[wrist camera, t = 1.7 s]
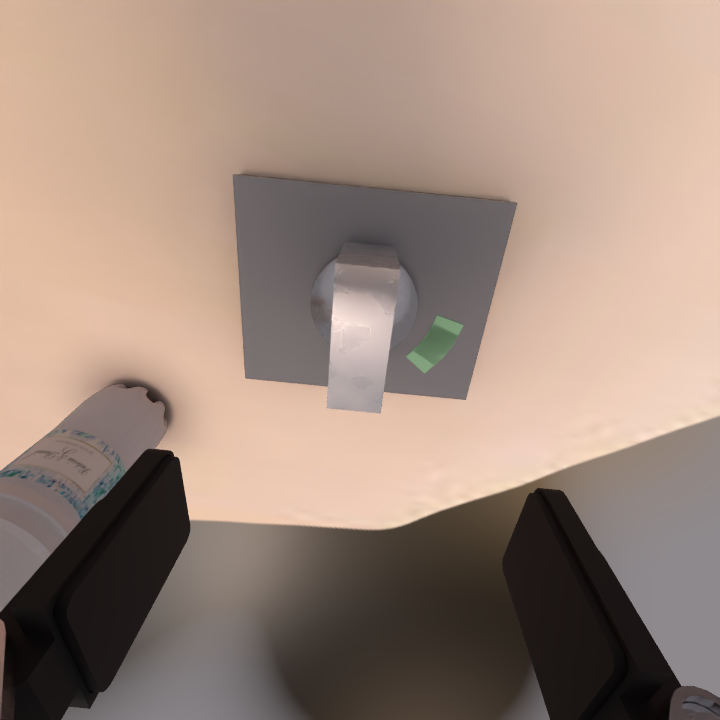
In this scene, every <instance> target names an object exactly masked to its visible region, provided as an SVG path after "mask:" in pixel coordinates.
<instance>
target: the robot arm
mask: <svg viewBox="0 0 720 720" xmlns="http://www.w3.org/2000/svg"><path fill="white" fill-rule="evenodd" d="M189 533H190V521H189V515H188V509H187V503H186V497H185V491H184V485H183V479H182V472H181V466H180V461H179V458H178V457H174V454H173V452H172V451H169V450H159V449H147V450H145V451H144V452H143V453H142V454H141V456H140V457H139V458H138V459H137V460H136V461H135V462H134V464H133V465H132V466H131V467H130V468H129V469H128V471H127V472H126V473H125V474H124V475H123V476H122V477H121V479H120V480H119V481H118V482H117V483H116V484H115V486H114V487H113V488H112V489H111V490H110V491H109V492H108V494H107V495H106V496H105V497H104V498H103V499H101V500H99V501H98V502H97V503H96V504H95V505H94V506H93V507H92V508H91V509H90V510H89V512H88V513H87V514H86V515H85V516H84V517H83V518H82V519H81V521H80V522H79V523H78V524H77V525H76V526H75V527H74V529H73V530H72V531H71V532H70V533H69V534H68V535H67V537H66V538H65V539H64V540H63V541H62V542H61V543H60V545H59V546H58V547H57V548H56V549H55V550H54V551H53V553H52V554H51V555H50V556H49V557H48V558H47V559H46V561H45V562H44V563H43V564H42V565H41V566H40V567H39V569H38V570H37V571H36V572H35V573H34V574H33V575H32V577H31V578H30V579H29V580H28V581H27V582H26V583H25V585H24V586H23V587H22V588H21V589H20V590H19V591H18V593H17V594H16V595H15V596H14V597H13V598H12V599H11V600H10V602H9V603H8V604H7V605H6V606H5V607H4V608H3V610H2V611H1V612H0V720H61V719H62V717H63V715H64V714H65V712H66V710H67V709H68V707H79V708H88V709H90V708H91V705H92V704H93V702H94V700H95V698H96V697H97V695H98V693H99V692H104V691H105V690H106V689H107V688H108V687H109V685H110V684H111V682H112V681H113V679H114V677H115V675H116V673H117V671H118V669H119V668H120V666H121V664H122V662H123V660H124V658H125V656H126V654H127V653H128V651H129V649H130V647H131V645H132V643H133V641H134V639H135V638H136V636H137V634H138V632H139V630H140V628H141V626H142V624H143V623H144V621H145V619H146V617H147V615H148V613H149V611H150V609H151V608H152V605H153V604H154V602H155V600H156V598H157V596H158V594H159V592H160V590H161V589H162V587H163V585H164V583H165V581H166V579H167V577H168V576H169V574H170V571H171V570H172V568H173V566H174V564H175V562H176V560H177V559H178V557H179V555H180V553H181V551H182V549H183V547H184V545H185V544H186V542H187V539H188V536H189ZM502 565H503V572H504V575H505V579H506V582H507V585H508V589H509V591H510V595H511V598H512V601H513V604H514V607H515V611H516V614H517V617H518V620H519V623H520V626H521V629H522V632H523V636H524V639H525V642H526V645H527V648H528V651H529V654H530V658H531V661H532V664H533V667H534V670H535V673H536V676H537V680H538V682H539V686H540V688H541V692H542V695H543V698H544V702H545V705H546V708H547V711H548V714H549V717H550V720H720V698H719V697H717V696H715V695H714V694H712V693H710V692H709V691H707V690H704V689H701V688H698V687H695V686H681V685H680V683H679V681H678V680H677V678H676V676H675V675H674V673H673V671H672V670H671V668H670V666H669V665H668V663H667V661H666V660H665V658H664V656H663V655H662V653H661V651H660V650H659V648H658V646H657V645H656V643H655V641H654V640H653V638H652V636H651V635H650V633H649V631H648V630H647V628H646V626H645V625H644V623H643V621H642V620H641V618H640V616H639V615H638V613H637V611H636V610H635V608H634V606H633V604H632V603H631V601H630V600H629V598H628V596H627V595H626V593H625V591H624V590H623V588H622V586H621V585H620V583H619V581H618V579H617V578H616V576H615V575H614V573H613V571H612V569H611V568H610V566H609V565H608V563H607V561H606V560H605V558H604V556H603V555H602V554H601V553H600V551H599V550H598V549H597V547H596V546H595V544H594V542H593V540H592V539H591V537H590V535H589V534H588V532H587V530H586V529H585V527H584V525H583V524H582V522H581V520H580V519H579V517H578V515H577V513H576V512H575V510H574V508H573V507H572V505H571V504H570V502H569V500H568V498H567V497H566V495H565V494H564V492H562V491H560V490H553V489H543V488H538V489H536V490H535V492H534V493H530V494H529V495H528V497H527V499H526V502H525V505H524V507H523V509H522V512H521V514H520V517H519V519H518V522H517V524H516V527H515V530H514V532H513V534H512V537H511V539H510V542H509V545H508V547H507V549H506V552H505V555H504V557H503V562H502Z"/></svg>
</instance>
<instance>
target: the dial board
mask: <svg viewBox="0 0 720 720" xmlns="http://www.w3.org/2000/svg"><path fill="white" fill-rule="evenodd" d="M233 184H234V201H235V217H236V234H237V250H238V267H239V283H240V300H241V316H242V333H243V349H244V366H245V378H247V379H257V380H267V381H277V382H288V383H298V384H308V385H318V386H328V378H329V361H330V343H329V342H328V341H327V340H325V339H324V337H323V336H322V335H321V334H320V332H319V331H318V329H317V328H316V326H315V323H314V321H313V318H312V314H311V308H310V300H311V293H312V289H313V286H314V284H315V281H316V280H317V278H318V276H319V274H320V273H321V271H322V270H323V269H324V267H325V266H326V265H327V264H328V263H329V262H330V261H332V260H333V259H334V258H336V257H338V256H339V254H340V252H341V250H342V247H343V245H344V243H345V242H353V243H363V244H373V245H384V246H394V247H395V250H396V254H397V258H398V262H399V263H400V264H401V265H402V266H403V267H404V268H405V269H406V271H407V272H408V273H409V275H410V277H411V279H412V281H413V284H414V287H415V290H416V293H417V299H418V309H417V315H416V319H415V322H414V324H413V327H412V328H411V330H410V332H409V333H408V335H407V336H406V337H405V338H404V339H403V340H402V341H401V342H400V343H399V344H398V345H396V346H395V347H393V348H391V349H390V350H389V356H388V363H387V370H386V378H385V385H384V392H390V393H400V394H411V395H421V396H431V397H441V398H452V399H462V400H466V397H467V393H468V389H469V386H470V382H471V378H472V374H473V370H474V366H475V363H476V359H477V355H478V351H479V347H480V344H481V340H482V336H483V332H484V328H485V324H486V321H487V317H488V313H489V309H490V305H491V302H492V298H493V294H494V290H495V286H496V282H497V279H498V275H499V271H500V267H501V263H502V259H503V256H504V252H505V248H506V244H507V240H508V237H509V233H510V229H511V225H512V221H513V217H514V214H515V210H516V206H517V203H515V202H510V201H501V200H491V199H481V198H471V197H461V196H451V195H441V194H431V193H421V192H411V191H401V190H391V189H381V188H371V187H361V186H351V185H341V184H331V183H321V182H311V181H301V180H291V179H281V178H271V177H261V176H251V175H233Z"/></svg>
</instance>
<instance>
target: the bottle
mask: <svg viewBox="0 0 720 720" xmlns="http://www.w3.org/2000/svg"><path fill="white" fill-rule="evenodd" d="M147 393H148V390H147V389H146V388H144V387H140V386H139V387H134V388H128V389H127V387H126V386H125V385H123V384H116V385H111V386H109V387H106V388H104V389H102V390H100V391H99V392H97V393H96V394H94V395H92V396H91V397H90V398H88V399H87V400H85V401H84V402H83V403H82V404H81V405H80V406H79V407H77V408H76V409H75V410H74V411H73V412H72V413H71V414H70V415H69V416H67V417H66V418H65V419H64V420H63V421H62V422H61V423H60V424H59V425H58V426H57V427H56V428H55V429H53V430H52V431H51V432H50V433H48V434H47V435H46V436H44V437H43V438H42V439H40V440H39V441H38V442H37V443H35V444H34V445H33V446H32V447H30V448H29V449H28V450H26V451H25V452H24V453H23V454H21V455H20V456H19V457H18V458H16V459H15V460H14V461H12V462H11V463H10V464H9V465H7V466H6V467H5V468H4V469H2V470H1V471H0V612H1V611H2V610H3V608H4V607H5V606H6V605H7V604H8V603H9V602H10V600H11V599H12V598H13V597H14V596H15V595H16V594H17V593H18V591H19V590H20V589H21V588H22V587H23V586H24V585H25V583H26V582H27V581H28V580H29V579H30V578H31V577H32V575H33V574H34V573H35V572H36V571H37V570H38V569H39V567H40V566H41V565H42V564H43V563H44V562H45V561H46V559H47V558H48V557H49V556H50V555H51V554H52V553H53V551H54V550H55V549H56V548H57V547H58V546H59V545H60V543H61V542H62V541H63V540H64V539H65V538H66V537H67V535H68V534H69V533H70V532H71V531H72V530H73V529H74V527H75V526H76V525H77V524H78V523H79V522H80V521H81V519H82V518H83V517H84V516H85V515H86V514H87V513H88V512H89V510H90V509H91V508H92V507H93V506H94V505H95V504H96V503H97V502H98V501H99V500H101V499H103V498H104V497H105V496H106V495H107V494H108V492H109V491H110V490H111V489H112V488H113V487H114V486H115V484H116V483H117V482H118V481H119V480H120V479H121V477H122V476H123V475H124V474H125V473H126V472H127V471H128V469H129V468H130V467H131V466H132V465H133V464H134V462H135V461H136V460H137V459H138V458H139V457H140V456H141V454H142V453H143V452H144V451H145V450H147V449H155V448H156V446H157V445H158V443H159V442H160V441H161V439H162V438H163V436H164V434H165V432H166V429H167V421H166V419H165V418H164V412H165V406H164V404H163V403H162V402H161V401H156V402H155V403H153V402H152V401H150V400H149V399H148V398H147V396H146V395H147Z"/></svg>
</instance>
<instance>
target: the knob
mask: <svg viewBox="0 0 720 720" xmlns="http://www.w3.org/2000/svg"><path fill="white" fill-rule="evenodd" d="M310 308H311V314H312V318H313V321H314V323H315V326H316V328H317V329H318V331H319V332H320V334H321V335H322V336H323V337H324V339H325V340H327V341H328V342H329V343H330V361H329V378H328V396H327V408H330V409H341V410H351V411H361V412H371V413H381V406H382V399H383V392H384V385H385V378H386V370H387V363H388V356H389V350H390V349H391V348H393V347H395V346H396V345H398V344H399V343H400V342H401V341H402V340H403V339H404V338H405V337H406V336H407V335H408V333H409V332H410V330H411V328H412V327H413V324H414V322H415V319H416V315H417V309H418V299H417V293H416V290H415V287H414V284H413V281H412V279H411V277H410V275H409V273H408V272H407V271H406V269H405V268H404V267H403V266H402V265H401V264H400V263H399V262H398V258H397V254H396V250H395V247H394V246H384V245H373V244H363V243H353V242H345V243H344V245H343V247H342V250H341V252H340V254H339V256H338V257H336V258H334V259H333V260H332V261H330V262H329V263H328V264H327V265H326V266H325V267H324V269H323V270H322V271H321V273H320V274H319V276H318V278H317V280H316V281H315V284H314V286H313V289H312V293H311V300H310Z"/></svg>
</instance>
